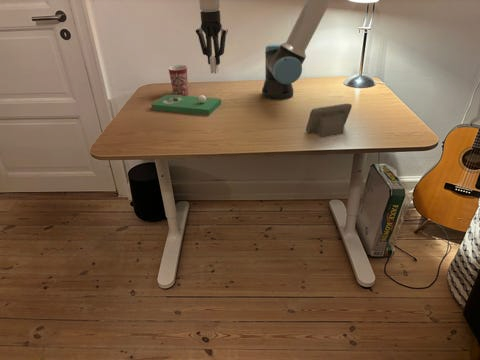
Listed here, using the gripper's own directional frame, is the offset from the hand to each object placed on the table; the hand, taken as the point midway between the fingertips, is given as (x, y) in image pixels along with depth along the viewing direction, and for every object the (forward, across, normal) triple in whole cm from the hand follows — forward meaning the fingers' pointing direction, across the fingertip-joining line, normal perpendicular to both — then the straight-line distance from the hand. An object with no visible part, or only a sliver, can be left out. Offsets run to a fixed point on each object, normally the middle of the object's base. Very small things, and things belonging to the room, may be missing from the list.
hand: (214, 72), depth 146 cm
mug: (+17, +26, -16) cm, 35 cm away
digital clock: (+17, -49, +11) cm, 53 cm away
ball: (+12, +7, 0) cm, 14 cm away
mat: (+16, +15, 0) cm, 22 cm away
